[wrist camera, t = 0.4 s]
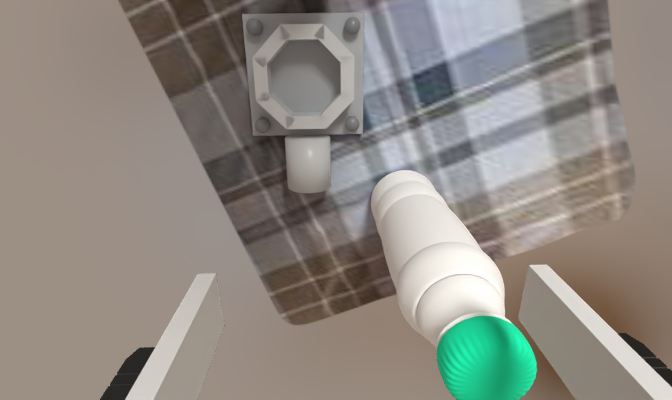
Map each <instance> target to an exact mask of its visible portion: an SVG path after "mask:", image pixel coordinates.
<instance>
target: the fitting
mask: <svg viewBox="0 0 672 400" xmlns="http://www.w3.org/2000/svg"><path fill="white" fill-rule="evenodd" d="M242 20H243V31H244V42H245V53H246V63H247V74H248V85H249V96H250V107H251V118H252V128H253V136H268V135H289V136H286V137H285V150H286V166H287V182H288V189H289V190H291V191H294V192H298V193H317V192H322V191H325V190H327V189H329V188H330V187H331V161H330V136H329V135H328V134H363V78H364V13H280V14H242Z"/></svg>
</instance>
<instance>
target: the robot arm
mask: <svg viewBox="0 0 672 400" xmlns="http://www.w3.org/2000/svg"><path fill="white" fill-rule="evenodd" d="M518 319H519V320H520V322H521V323H522V324H523V326H524V327H525V329H526V330H527V331H528V333H529V334H530V336H531V337H532V338H533V340H534V341H535V343H536V344H537V345H538V347H539V348H540V350H541V351H542V353H543V354H544V355H545V357H546V358H547V360H548V361H549V362H550V364H551V365H552V366H553V368H554V369H555V371H556V372H557V374H558V375H559V376H560V378H561V379H562V381H563V382H564V384H565V385H566V386H567V388H568V389H569V391H570V392H571V393H572V395H573V396H574V397H575V399H576V400H672V371H671V370H670V369H668V368H667V366H666V365H665V364H664V363H663V362H662V361H661V360H660V359H657V358H656V356H655V355H654V354H653V353H652V352H651V351H650V350H649V349H648V348H647V347H646V346H645V345H644V344H642V343H641V342H639V341H637V340H636V339H634V338H633V337H631V336H629V335H628V334H626V333H616V332H615V331H614V330H613V329H612V328H611V327H610V326H609V325H608V324H607V323H606V322H605V321H604V320H603V319H602V318H601V317H600V316H599V315H598V314H597V313H596V312H595V311H594V310H592V309H591V308H590V307H589V306H588V305H587V304H586V303H585V302H584V301H583V300H582V299H581V298H580V297H579V296H578V295H577V294H576V293H575V292H574V291H573V290H572V289H571V288H570V287H569V286H568V285H567V284H566V283H565V282H564V281H563V280H562V279H561V278H560V277H559V276H558V275H557V274H556V273H555V272H554V271H553V270H552V269H551V268H550V267H549V266H548V265H529V268H528V272H527V277H526V282H525V287H524V292H523V297H522V302H521V307H520V312H519V317H518ZM223 329H224V320H223V314H222V308H221V301H220V294H219V288H218V281H217V276H216V273H202V274H197V276H196V278H195V279H194V281H193V283H192V284H191V286H190V288H189V290H188V291H187V293H186V295H185V297H184V298H183V300H182V302H181V304H180V305H179V307H178V309H177V311H176V312H175V314H174V316H173V317H172V319H171V321H170V323H169V325H168V326H167V328H166V330H165V331H164V333H163V335H162V337H161V338H160V340H159V342H158V344H157V345H156V347H151V348H139V349H137V350H136V351H135V352H134V353H133V354H132V355H130V356H129V357H128V358H127V359H126V360H125V362H124V363H123V365H122V366H121V368H120V369H119V371H118V373H117V375H116V376H115V377H114V379H113V380H112V382H111V384H110V386H109V387H108V388H107V389H106V391H105V392H104V394H103V396H102V397H101V399H100V400H197V399H198V397H199V394H200V391H201V389H202V386H203V383H204V380H205V378H206V375H207V372H208V370H209V367H210V364H211V361H212V359H213V356H214V353H215V351H216V348H217V345H218V342H219V340H220V337H221V335H222V332H223Z"/></svg>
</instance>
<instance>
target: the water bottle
mask: <svg viewBox="0 0 672 400" xmlns="http://www.w3.org/2000/svg"><path fill="white" fill-rule="evenodd" d="M371 209H372V213H373V216H374V219H375V221H376V226H377V230H378V233H379V235H380V238H381V239H382V245H383V250H384V254H385V258H386V262H387V265H388V269H389V272H390V275H391V278H392V280H393V283H394V286H395V288H396V290H397V301H398V305H399V308H400V310H401V313H402V315H403V316H404V318H405V320H406V321H407V322H408V323H409V325H410V326H411V327H412V328H413V329H414V330H416V331H417V332H418V333H420V334H421V335H422V336H424V337H425V338H426V339H427V340H428V341H429V342H430V343H432V344H433V345H434V346H436V354H437V362H438V366H439V370H440V373H441V376H442V378H443V381H444V383H445V385H446V387H447V388H448V390H449V391H450V393H451V394H452V396H453V397H455V398H456V400H519V399H520V398H521V396H524V395H525V394H526V391H528V390H530V386H532V385H533V382H534V379H535V377H536V372H537V368H536V364H537V363H536V360H535V356H534V353H533V351H532V349H531V347H530V345H529V343H528V341H527V340H526V338H525V337H524V336H523V334H522V333H521V332H520V331H519V330H518V329H517V328H516V327H515V326H514V325H513V324H512V323H511V322H510V321H509V320H508V319H506V318H505V308H504V295H505V292H504V284H503V280H502V276H501V274H500V272H499V269H498V268H497V266H496V265H495V263H494V262H493V261H492V260H491V258H490V257H489V256H487V255H486V254H485V253H484V252H483V251H482V250H481V248H480V247H479V245H478V244H477V242H476V241H475V239H474V238H473V236H472V235H471V234H470V232H469V231H468V230H467V228H466V227H465V226H464V225H463V223H462V222H461V221H460V220H459V219H458V217H457V216H456V215H455V214H454V213H453V212H452V211H451V210H450V209H449V208H448V206H447V204H446V202H445V201H444V199H443V198H442V197H441V196H440V195H439V194H438V193H437V192H436V190H435V188H434V187H433V185H432V184H431V183H430V181H429V180H428V179H427V178H426V177H424V176H423V175H421V174H419V173H417V172H414V171H409V170H400V171H396V172H393V173H390V174H388V175H387V176H385V177H384V178H382V179H381V180H380V181H379V182H378V184H377V185H376V186H375V188H374V190H373V193H372V196H371Z"/></svg>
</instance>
